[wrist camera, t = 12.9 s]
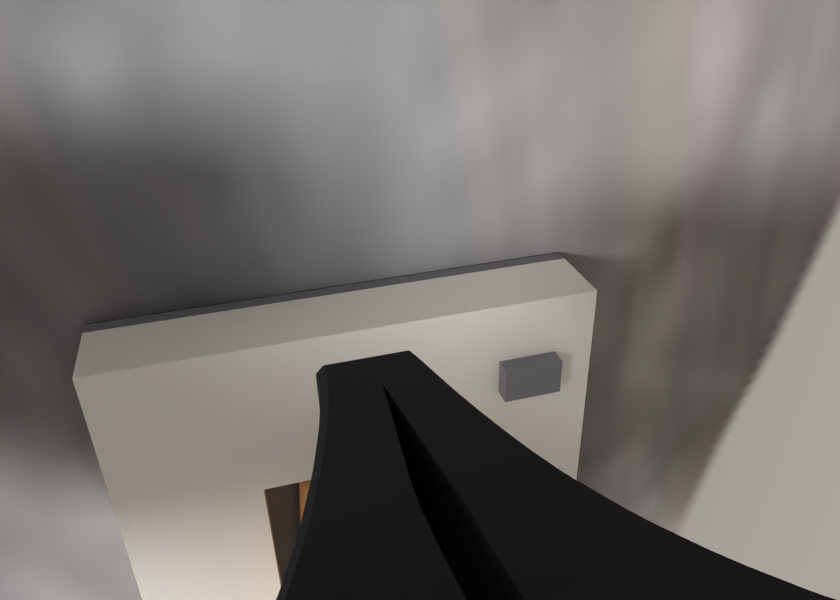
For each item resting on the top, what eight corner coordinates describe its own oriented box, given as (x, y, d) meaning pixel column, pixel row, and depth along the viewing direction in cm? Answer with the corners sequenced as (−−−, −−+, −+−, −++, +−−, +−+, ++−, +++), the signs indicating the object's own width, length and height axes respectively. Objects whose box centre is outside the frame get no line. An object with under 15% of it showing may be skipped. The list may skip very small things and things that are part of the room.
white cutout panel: (195, 702, 27) (196, 784, 24) (84, 324, 19) (69, 391, 16) (530, 612, 29) (561, 677, 27) (558, 252, 22) (606, 299, 19)
